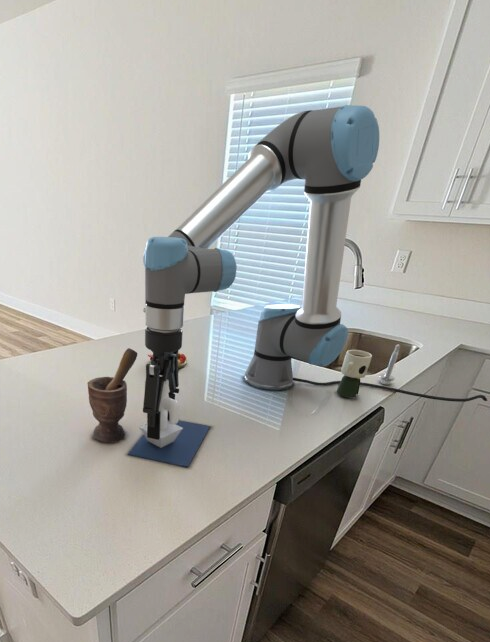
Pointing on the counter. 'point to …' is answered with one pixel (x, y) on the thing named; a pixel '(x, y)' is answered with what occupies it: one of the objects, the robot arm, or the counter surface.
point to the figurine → (167, 428)
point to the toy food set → (181, 359)
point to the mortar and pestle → (110, 400)
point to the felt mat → (173, 446)
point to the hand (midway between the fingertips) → (161, 428)
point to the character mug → (353, 372)
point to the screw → (390, 368)
